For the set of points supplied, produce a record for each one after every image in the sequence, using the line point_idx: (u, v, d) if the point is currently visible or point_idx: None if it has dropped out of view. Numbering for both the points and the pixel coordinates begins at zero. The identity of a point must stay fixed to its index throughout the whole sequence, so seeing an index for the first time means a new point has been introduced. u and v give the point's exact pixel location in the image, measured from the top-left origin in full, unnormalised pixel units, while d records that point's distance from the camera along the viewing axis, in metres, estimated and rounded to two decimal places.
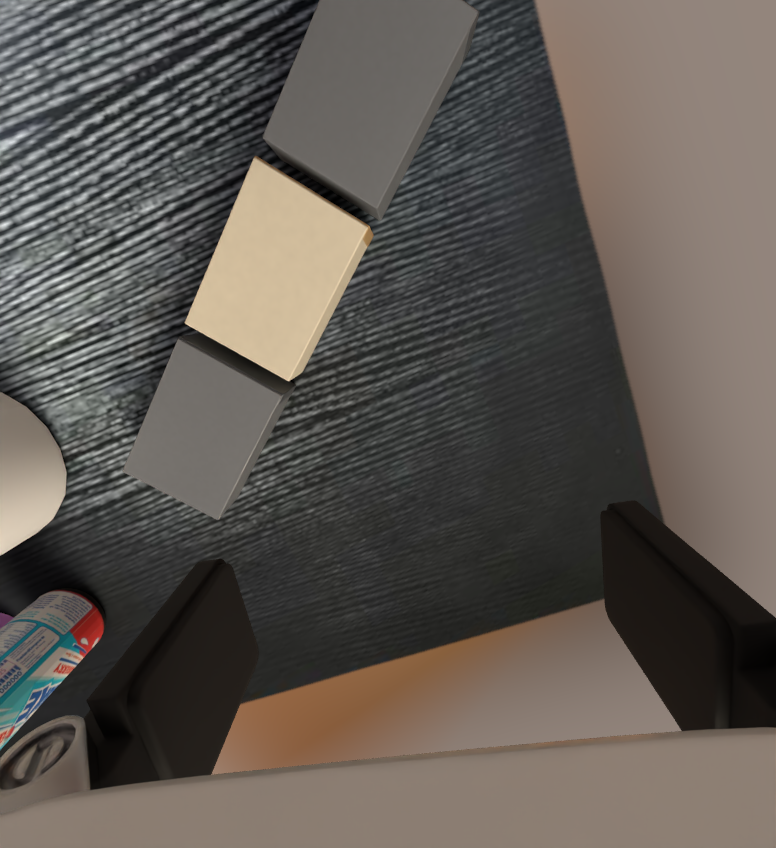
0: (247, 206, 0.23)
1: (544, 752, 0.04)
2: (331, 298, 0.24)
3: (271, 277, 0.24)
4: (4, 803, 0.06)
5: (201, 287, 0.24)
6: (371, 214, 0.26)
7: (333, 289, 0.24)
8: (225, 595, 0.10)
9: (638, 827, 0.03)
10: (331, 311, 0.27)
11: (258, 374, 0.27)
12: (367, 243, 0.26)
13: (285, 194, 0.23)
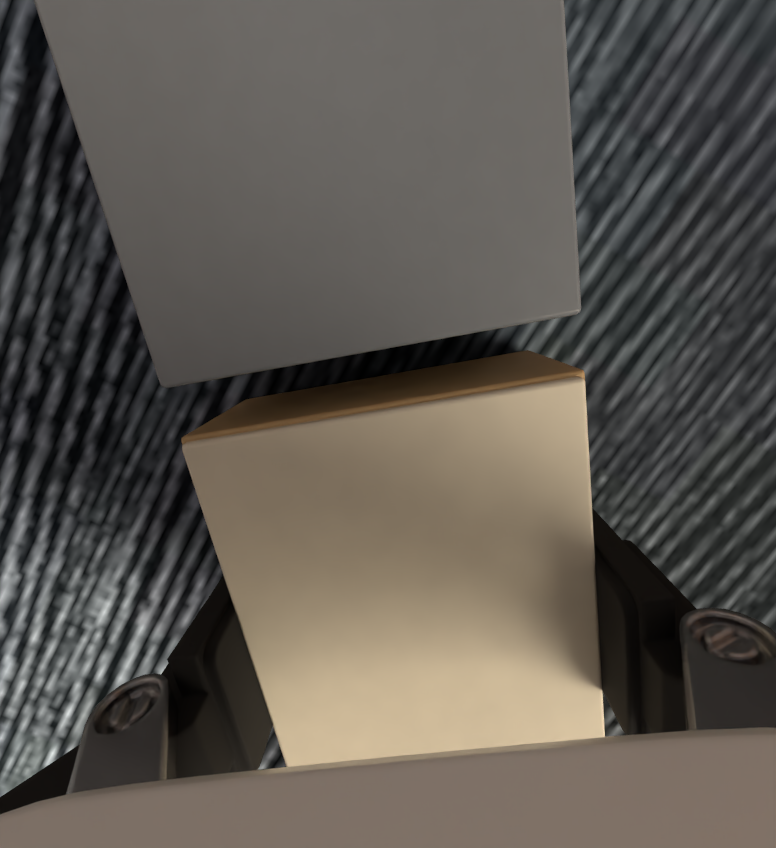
0: (253, 557, 0.08)
1: (543, 750, 0.04)
2: (596, 600, 0.08)
3: (418, 654, 0.08)
4: (107, 745, 0.06)
5: (289, 763, 0.09)
6: None
7: (591, 581, 0.08)
8: None
9: (638, 827, 0.03)
10: None
11: None
12: None
13: (315, 468, 0.07)
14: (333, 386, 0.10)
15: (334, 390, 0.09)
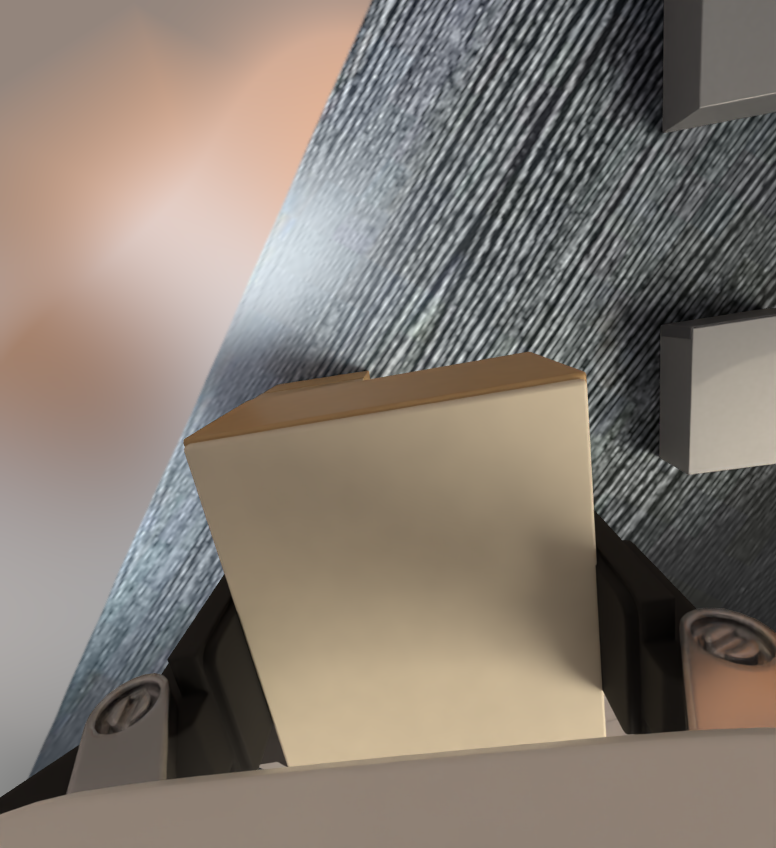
0: (255, 558, 0.08)
1: (544, 751, 0.04)
2: None
3: (419, 655, 0.08)
4: (107, 745, 0.06)
5: (291, 763, 0.09)
6: None
7: (593, 583, 0.08)
8: None
9: (639, 827, 0.03)
10: None
11: (760, 313, 0.27)
12: None
13: (317, 469, 0.07)
14: (335, 387, 0.10)
15: (336, 391, 0.09)
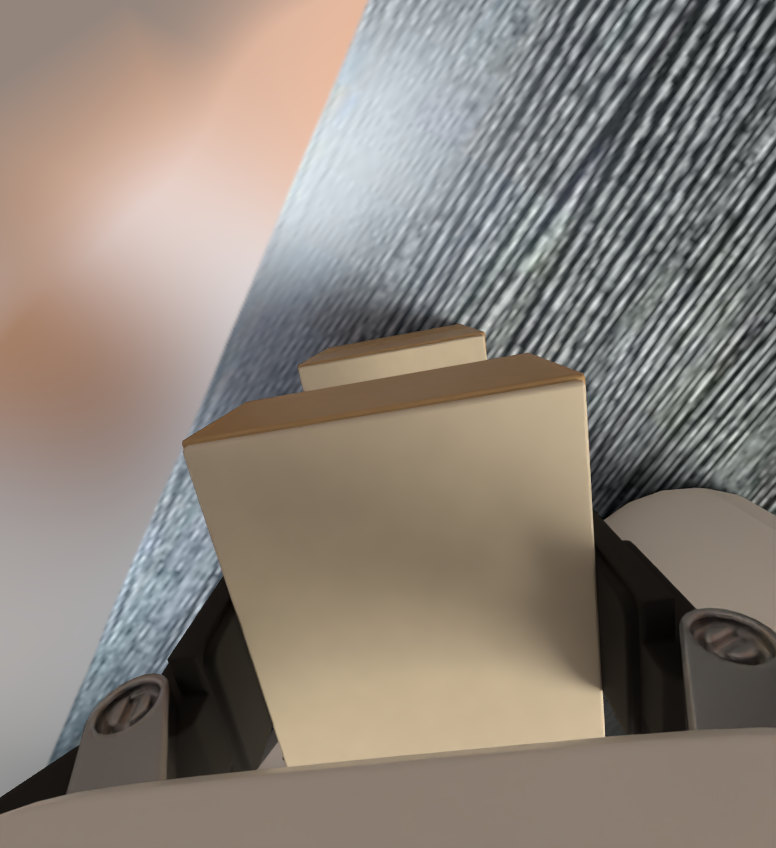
0: (254, 560, 0.08)
1: (544, 752, 0.04)
2: None
3: (418, 656, 0.08)
4: (107, 745, 0.06)
5: (290, 765, 0.09)
6: None
7: (592, 585, 0.08)
8: None
9: (638, 827, 0.03)
10: None
11: None
12: None
13: (316, 471, 0.07)
14: (334, 388, 0.10)
15: (335, 393, 0.09)
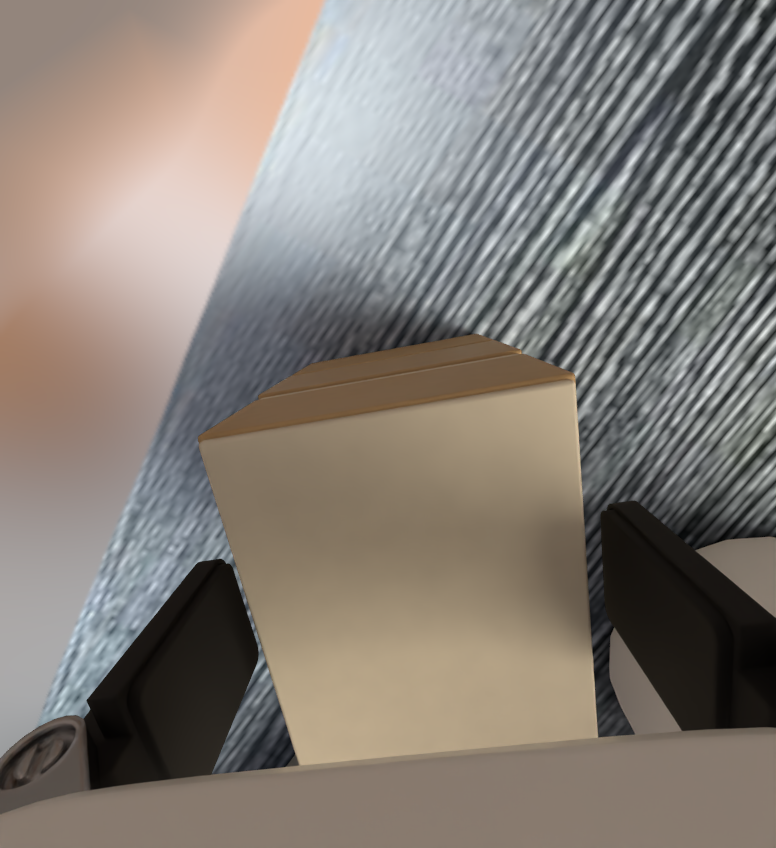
0: (264, 549, 0.08)
1: (543, 750, 0.04)
2: (588, 589, 0.08)
3: (419, 641, 0.09)
4: (4, 803, 0.06)
5: (297, 746, 0.10)
6: None
7: (583, 572, 0.08)
8: (225, 595, 0.10)
9: (638, 827, 0.03)
10: None
11: None
12: None
13: (323, 464, 0.08)
14: (338, 388, 0.10)
15: (340, 392, 0.10)
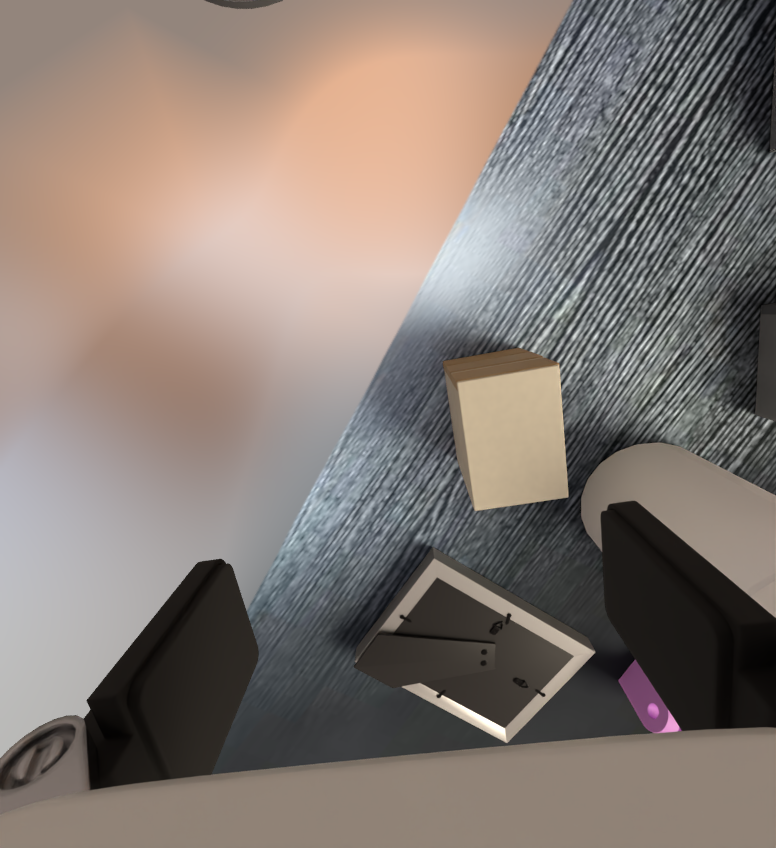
0: (471, 413, 0.29)
1: (545, 752, 0.04)
2: (563, 425, 0.30)
3: (513, 442, 0.30)
4: (4, 803, 0.06)
5: (472, 481, 0.31)
6: None
7: (561, 419, 0.29)
8: (225, 595, 0.10)
9: (638, 827, 0.03)
10: None
11: None
12: None
13: (491, 387, 0.29)
14: (482, 368, 0.31)
15: (485, 369, 0.31)
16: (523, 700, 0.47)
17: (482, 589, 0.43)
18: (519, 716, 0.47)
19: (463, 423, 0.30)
